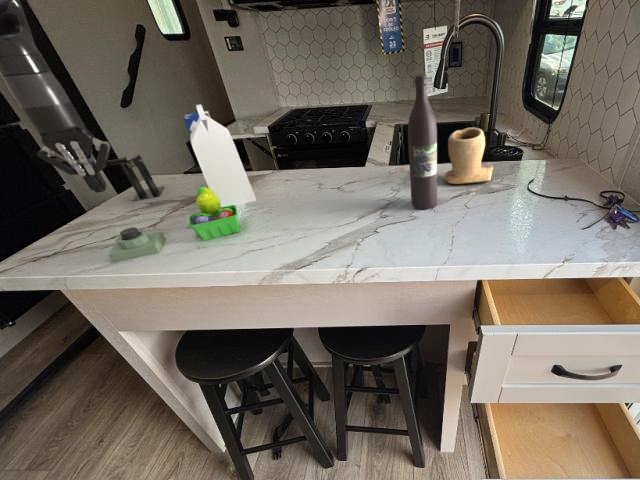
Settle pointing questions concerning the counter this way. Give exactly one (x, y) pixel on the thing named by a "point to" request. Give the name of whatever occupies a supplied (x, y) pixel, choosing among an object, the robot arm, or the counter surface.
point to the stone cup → (467, 157)
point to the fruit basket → (213, 216)
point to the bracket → (152, 190)
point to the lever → (123, 162)
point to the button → (130, 233)
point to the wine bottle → (422, 149)
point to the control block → (137, 246)
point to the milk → (220, 161)
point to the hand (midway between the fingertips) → (101, 191)
